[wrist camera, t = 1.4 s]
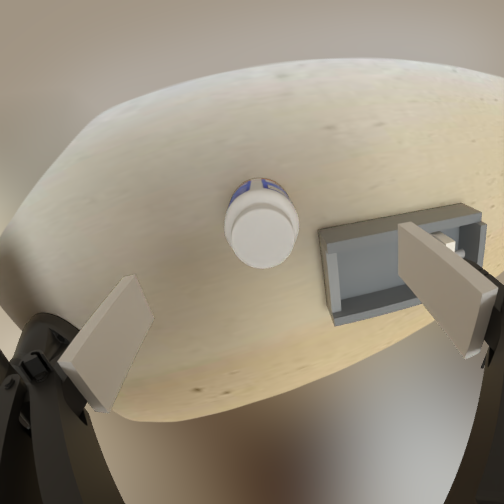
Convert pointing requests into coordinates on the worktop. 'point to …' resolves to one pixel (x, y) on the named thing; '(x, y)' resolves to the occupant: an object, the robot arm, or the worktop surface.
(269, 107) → the worktop surface
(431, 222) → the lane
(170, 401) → the worktop surface
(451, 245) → the pusher
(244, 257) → the pill bottle
